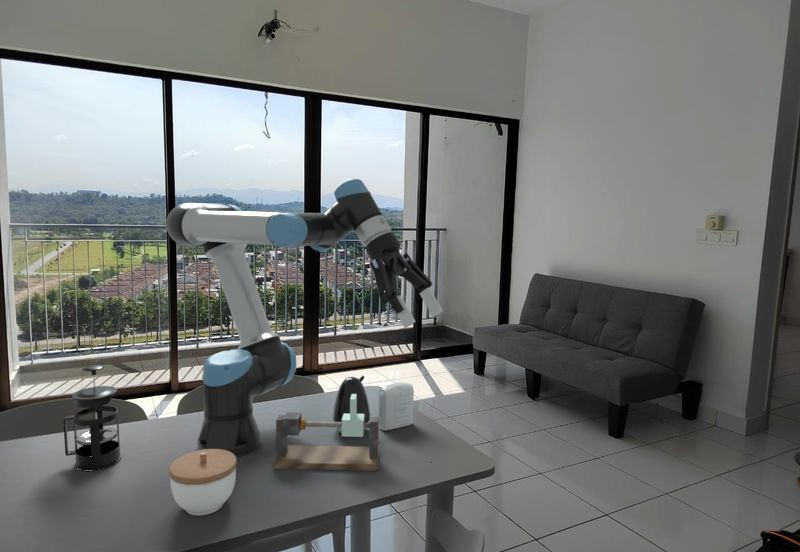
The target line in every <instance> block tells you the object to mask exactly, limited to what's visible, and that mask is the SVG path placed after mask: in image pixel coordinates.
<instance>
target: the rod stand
mask: <svg viewBox="0 0 800 552" xmlns="http://www.w3.org/2000/svg"><path fill="white" fill-rule="evenodd" d="M306 419H307V418H304V417H303V418H302V412H294V411H293V412H291V411H289V412H285V414H279V415H278V416H277V418H276V419H275V439H276V440H275V441H276V442H275V444H276V449H275V450H276V454H275V455H276V456H275V458H274V460H273V465H272V466H273V467H272V468H273V469H274V470H275V469H281V470H319V471H320V470H322V471H323V470H324V471H326V470H328V471H329V470H330V471H332V470H333V471H371V472H372V471H374V472H375V471H378V466H379V454H380V446H379V439H380V438H379V437H380V436H379V433H380V431H379V430H380V428H379V416H370V421H369V423H364V424H363V428H366V429H369V446H354V445H353V446H352V445H351V446H348V445H346V446H344V445H342V446H341V445H298V444H296V445H294V444H291V445H290V444H288V436H299V435H300V433H301V430H303V431H305V430H306V427H307V428H308V427H309V428H336V427H342V422H334V421H307V420H306Z"/></svg>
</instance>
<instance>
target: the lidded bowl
mask: <svg viewBox="0 0 800 552" xmlns="http://www.w3.org/2000/svg"><path fill="white" fill-rule="evenodd" d="M168 474H169V479H170V490H171V493H172V497H173V498H174V501H175V503H176V504H177V505H178V506H179V507H180V508H181V509H183V510H184V511H185V512H186V513H187V514H188V515H191V516H198V517H199V516H201V517H202V516H206V515H210V514H213V513H216V512H217V511H219V510H220V509H221V508H222V507H223V505H224V504H225V502H227V501H228V499H229V498H230V496H231V495H232V494H233V493H232V492H233V490H234V488H235V485H236V479H237V457H236V456H235V455H234V454H233V453H231V452H229V451H226V450H222V449H204V450H198V449H197V450H194V451H191V452H188V453H185V454H182V455H181V456H179V457H178V458H177V457H176V459H174V460H173V461H172V463H170V465H169V467H168Z"/></svg>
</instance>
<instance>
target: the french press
mask: <svg viewBox="0 0 800 552" xmlns="http://www.w3.org/2000/svg"><path fill="white" fill-rule="evenodd" d="M104 367H105V366H104V365H101V364H95V365H94V364H93V365H88V366H85V367H84V368H82V371H84V372H91V376H92V379H93V380H92V381H93V386H91V387H90V386H89V387H87V388H82V389H79V390H77V391H75V392H73V393H72V394H71V397H72V399H73V400H74V407H75V406H76V407H77V408H83V409H80V410H78V411H76V412H74V414H73V415H72V414H71V415H66V416H64V418H63V422H62V423H63V424H62V425H63V435H64V438H63V440H64V452H65V456H67V457H68V456H74V455H75V463H74V465H75V466H76V467H75V466H74V467H75V469H76V468H78V469H81V470H88V471H87V472H90V471H89V470H96V471H99V470H98V469H101V470H104V469H103V468H105V469H107V468H106V467H108V468H110V467H112V466H111V465H113V464H114V465H116V464H118V463H119V462H120V461H121V460H120V459H122V454H121V445H120V425H119V424H120V423H119V409H118V408H119V407H116V406H114V405H108V404H109V403H110V402H111V400H112V398H113V397H114V395H115V394H116V393H117V392H118V389H117V387H114V386H111V385H99V386H98V385H96V375H97V371H101V370H103V369H104ZM103 412H112V414H110V415H107V416H105V417H103V416H104V414H103ZM92 413H93V416H94V419H79V418H80V417H82V416H85V415H88V414H92ZM115 419H116V428H110V427H105V428H104V424H106V423H108V422H109V423H110V422H112V421H114V420H115ZM68 420H73V430H74V431H73V433H74V447H75V448H74V449H75V450H69V443H68V426H67V421H68ZM77 426H81V427H82V426H83V427H86V426H87V427H88V426H89V430H87V431H84V432H83V433H81V434H79V435H77ZM116 437H117V440H115V438H116ZM78 445H80V446H79V447H78ZM100 453H106V454H100ZM90 456H91V457H90ZM119 460H120V461H119ZM118 461H119V462H118ZM117 462H118V463H117ZM115 463H116V464H115ZM114 465H113V466H114ZM109 466H110V467H109ZM78 469H77V470H78ZM81 470H80V471H81Z"/></svg>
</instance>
